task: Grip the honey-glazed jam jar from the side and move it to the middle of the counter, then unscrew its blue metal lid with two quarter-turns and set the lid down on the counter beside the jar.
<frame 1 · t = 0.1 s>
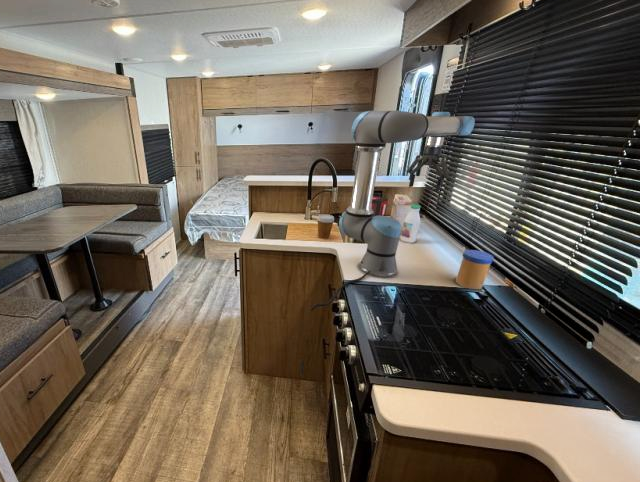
hand: (423, 189, 160), 28 cm above the table, tool pointing down, fingers open, 13 cm apart
coffeecake box: (396, 229, 187), on the table
jar lid: (478, 255, 120), point 13 cm above the table, screwed on, not yet turned
cleaning product box: (364, 230, 185), on the table
milk bottle: (407, 240, 169), on the table
disposable coffee cup: (323, 237, 174), on the table
jam jar: (468, 283, 125), on the table
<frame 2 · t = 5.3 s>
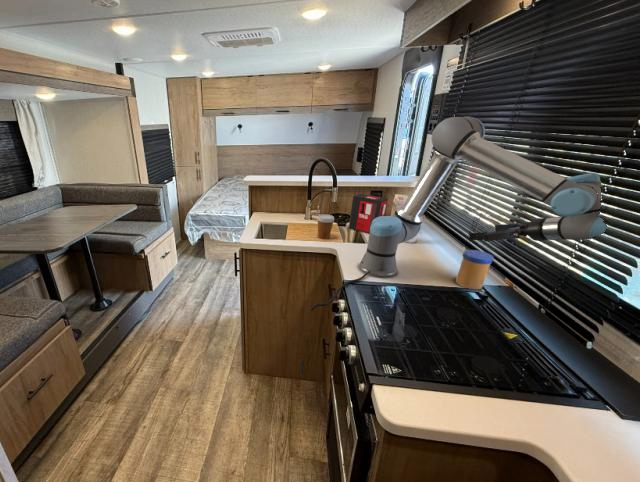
hand: (483, 232, 121), 20 cm above the table, tool tilted 65°, fingers open, 13 cm apart
nothing on the table moved.
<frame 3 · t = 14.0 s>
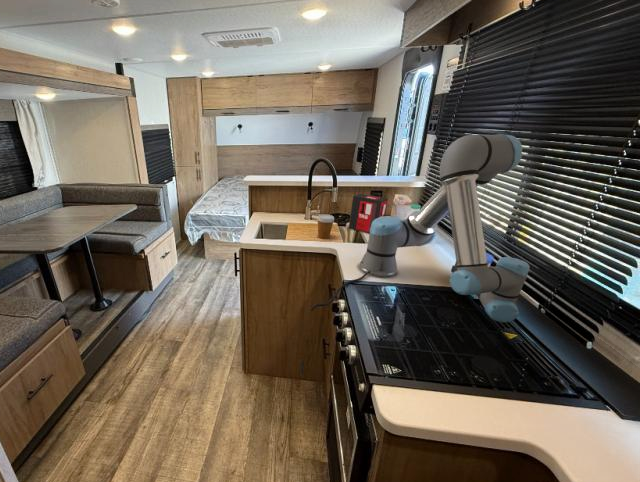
hand: (470, 263, 126), 7 cm above the table, tool horizontal, fingers closed on jam jar, 9 cm apart
jam jar: (468, 283, 125), on the table, touching gripper
everything else where it was.
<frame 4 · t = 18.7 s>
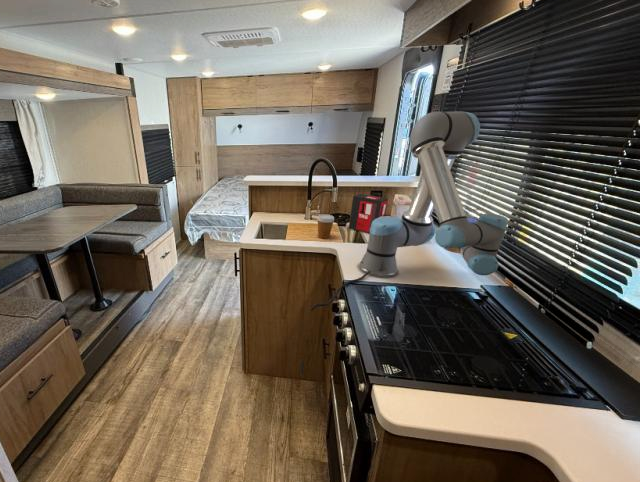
hand: (457, 230, 132), 18 cm above the table, tool horizontal, fingers closed on jam jar, 9 cm apart
jar lid: (464, 220, 126), point 23 cm above the table, screwed on, not yet turned
jam jar: (455, 249, 131), point 11 cm above the table, touching gripper
everything else where it was.
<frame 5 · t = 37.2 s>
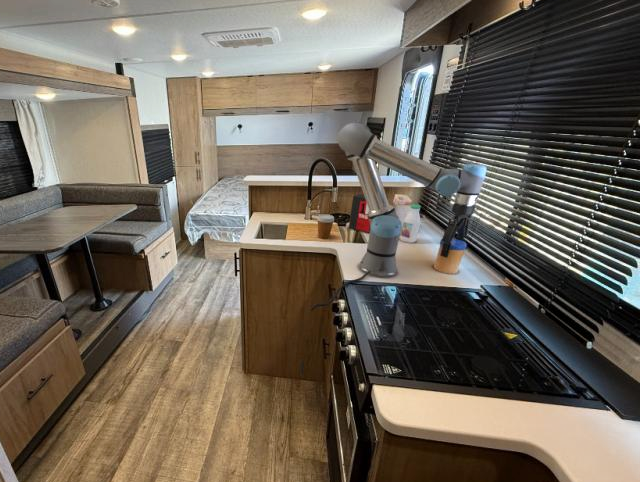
hand: (449, 253, 134), 7 cm above the table, tool pointing down, fingers closed on jar lid, 9 cm apart
jar lid: (453, 242, 132), point 13 cm above the table, screwed on, not yet turned, touching gripper
jam jar: (445, 269, 137), on the table
everything else where it was.
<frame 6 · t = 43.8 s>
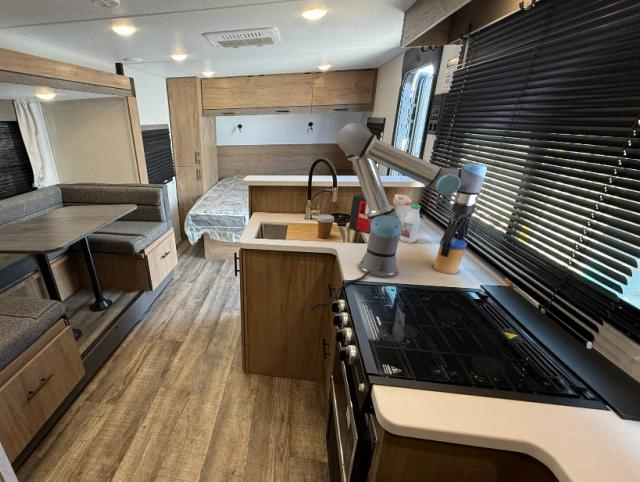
hand: (449, 253, 134), 8 cm above the table, tool pointing down, fingers closed on jar lid, 9 cm apart
jar lid: (453, 242, 132), point 13 cm above the table, turned 90° so far, risen 0.2 cm, still on its thread, touching gripper
everything else where it was.
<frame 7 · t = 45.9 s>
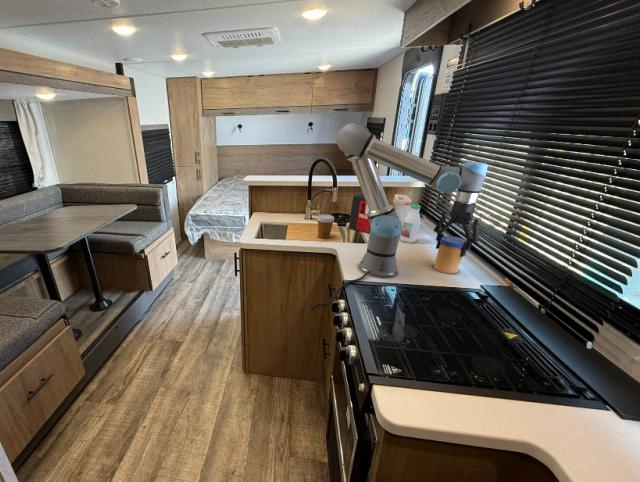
hand: (449, 251, 134), 8 cm above the table, tool pointing down, fingers closed on jar lid, 9 cm apart
jar lid: (453, 240, 132), point 14 cm above the table, off its thread, touching gripper
jam jar: (445, 269, 137), on the table, touching gripper
everything else where it was.
when the fingers open (0 cm above the table, at t = 54.6 s): jar lid stays where it is, point 1 cm above the table.
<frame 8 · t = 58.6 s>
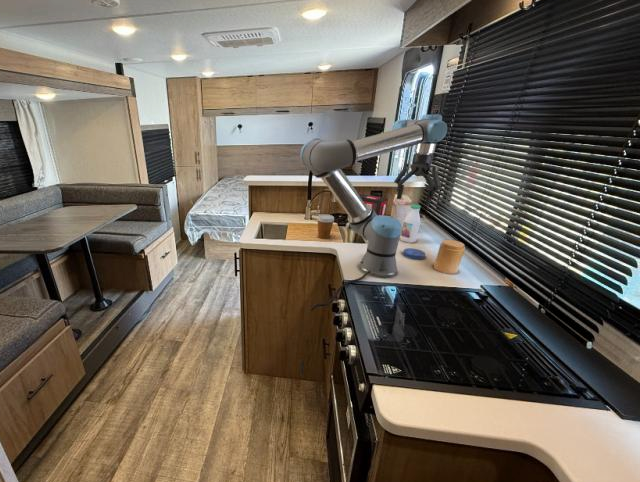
hand: (412, 201, 141), 27 cm above the table, tool pointing down, fingers open, 13 cm apart
jar lid: (414, 252, 150), point 1 cm above the table, off its thread
jam jar: (445, 269, 137), on the table
everything else where it was.
at the end: jam jar inside the target area (0.6 cm from its centre), on the table; jar lid point 1.5 cm above the table; jar lid inside the target area (0.3 cm from its centre), point 1.5 cm above the table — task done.
